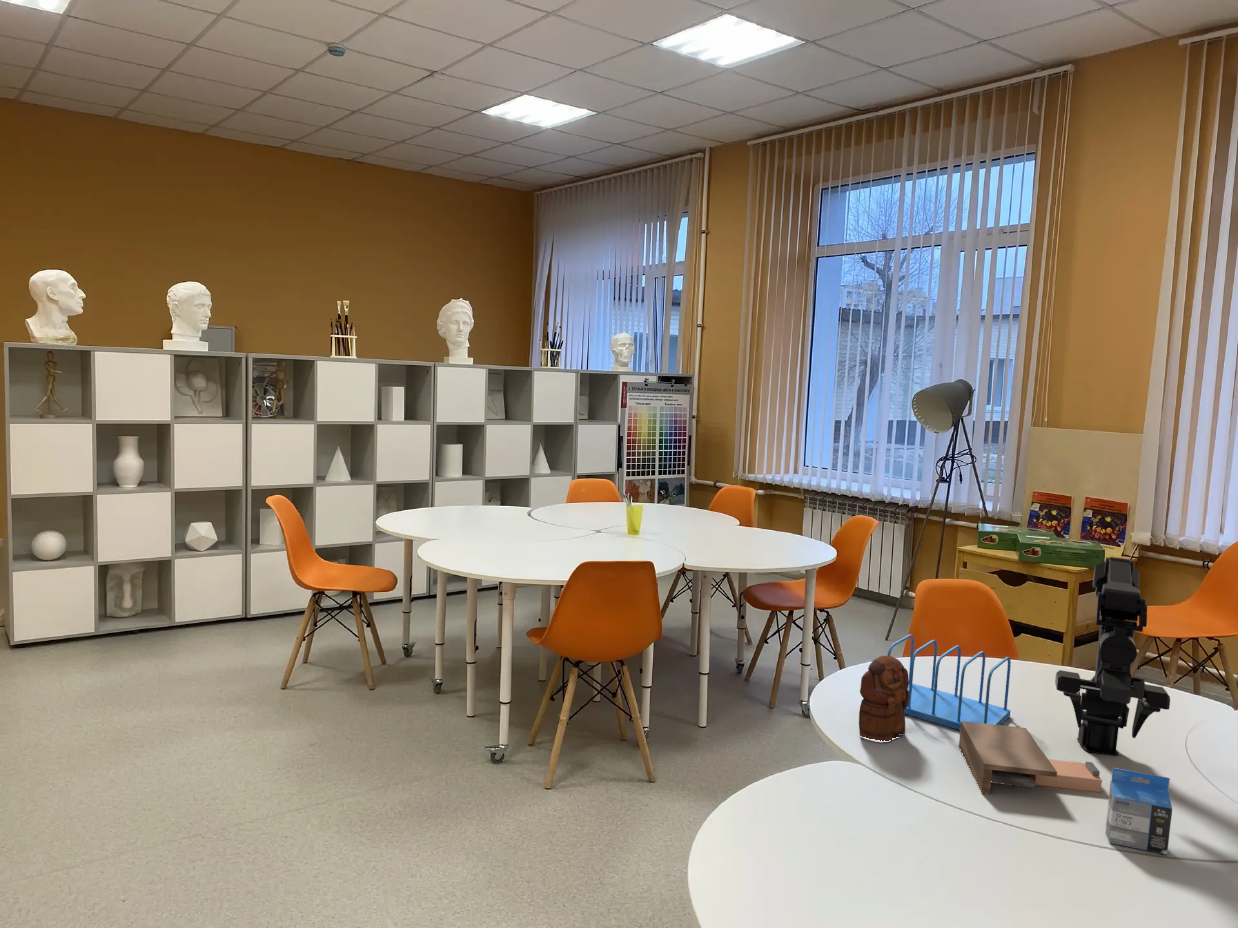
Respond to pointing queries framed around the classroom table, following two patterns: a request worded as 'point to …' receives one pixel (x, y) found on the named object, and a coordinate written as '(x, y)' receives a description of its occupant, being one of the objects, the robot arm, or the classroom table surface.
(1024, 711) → the classroom table surface
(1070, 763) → the pink slab with nub
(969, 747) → the low shelf
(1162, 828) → the label tape box
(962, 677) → the file sorter
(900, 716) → the wooden figurine
